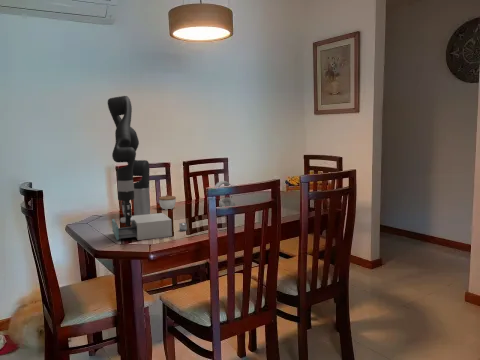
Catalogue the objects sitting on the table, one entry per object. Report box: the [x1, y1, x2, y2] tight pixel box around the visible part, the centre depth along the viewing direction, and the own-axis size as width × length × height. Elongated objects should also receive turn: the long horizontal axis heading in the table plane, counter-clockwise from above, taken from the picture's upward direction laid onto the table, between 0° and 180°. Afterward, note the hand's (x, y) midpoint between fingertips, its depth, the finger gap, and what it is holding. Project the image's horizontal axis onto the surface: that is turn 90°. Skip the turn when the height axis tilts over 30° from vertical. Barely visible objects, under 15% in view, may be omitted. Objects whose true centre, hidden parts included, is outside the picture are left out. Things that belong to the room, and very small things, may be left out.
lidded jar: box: [158, 194, 177, 211], centre depth 259 cm, size 11×11×9 cm
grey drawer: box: [111, 218, 137, 241], centre depth 193 cm, size 18×16×6 cm
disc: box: [120, 216, 134, 224], centre depth 192 cm, size 6×6×2 cm
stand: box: [178, 222, 188, 232], centre depth 204 cm, size 4×4×4 cm
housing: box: [131, 212, 173, 241], centre depth 197 cm, size 18×16×8 cm
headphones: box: [214, 180, 236, 207], centre depth 240 cm, size 19×9×20 cm, turn 145°
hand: (127, 224), depth 192 cm, fingers closed on disc, 6 cm apart
